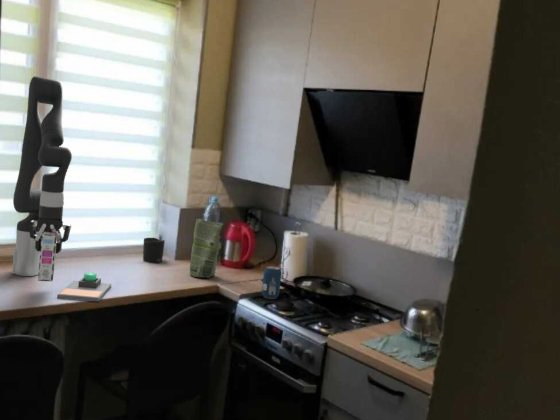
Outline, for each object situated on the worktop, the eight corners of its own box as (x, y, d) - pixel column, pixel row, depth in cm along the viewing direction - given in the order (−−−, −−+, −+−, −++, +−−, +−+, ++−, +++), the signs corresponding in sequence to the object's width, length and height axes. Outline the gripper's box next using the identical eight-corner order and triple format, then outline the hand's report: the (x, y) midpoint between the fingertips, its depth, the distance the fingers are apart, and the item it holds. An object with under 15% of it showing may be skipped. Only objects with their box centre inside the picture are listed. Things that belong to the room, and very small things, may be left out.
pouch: (188, 272, 249) (193, 216, 246) (214, 273, 253) (220, 218, 250) (191, 279, 239) (196, 220, 236) (219, 280, 242) (224, 222, 239)
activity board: (57, 298, 195) (57, 289, 195) (73, 283, 214) (73, 275, 213) (98, 301, 196) (99, 292, 196) (111, 286, 215) (111, 278, 215)
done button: (82, 281, 208) (82, 275, 207) (85, 278, 212) (86, 272, 212) (94, 282, 208) (94, 276, 208) (97, 279, 212) (97, 273, 212)
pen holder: (143, 262, 258) (144, 241, 256) (141, 258, 266) (142, 237, 265) (164, 263, 261) (165, 242, 259) (161, 258, 270) (163, 238, 268)
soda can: (271, 293, 230) (274, 264, 229) (282, 298, 225) (285, 268, 223) (257, 295, 225) (260, 265, 224) (269, 300, 220) (272, 270, 219)
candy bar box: (53, 281, 194) (56, 235, 192) (37, 281, 192) (40, 234, 190) (54, 272, 205) (57, 228, 202) (39, 272, 203) (42, 227, 201)
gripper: (26, 203, 191) (22, 251, 193) (69, 208, 192) (65, 256, 194) (34, 200, 198) (31, 247, 200) (76, 205, 199) (72, 251, 202)
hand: (48, 251), depth 197 cm, fingers closed on candy bar box, 5 cm apart
